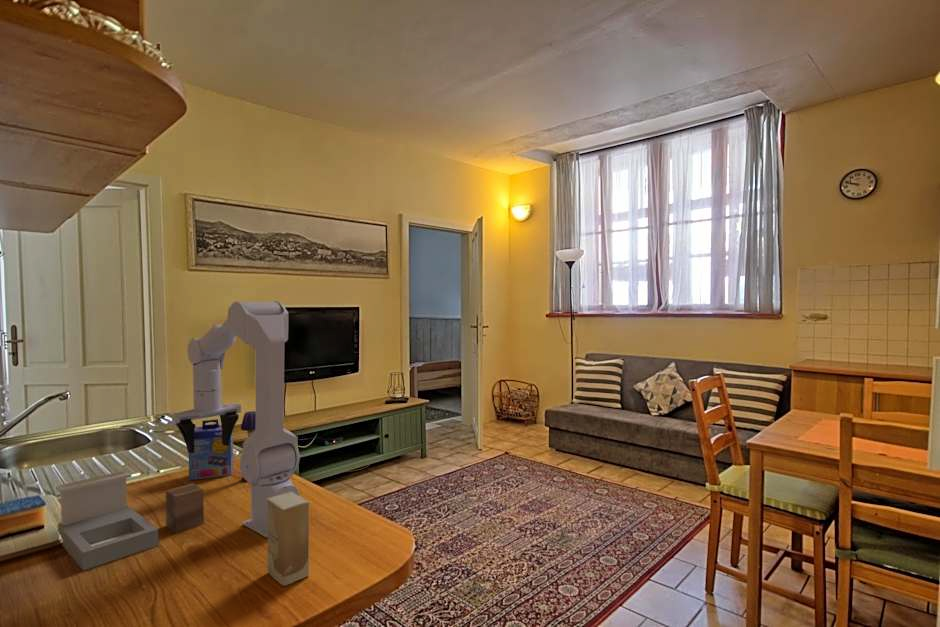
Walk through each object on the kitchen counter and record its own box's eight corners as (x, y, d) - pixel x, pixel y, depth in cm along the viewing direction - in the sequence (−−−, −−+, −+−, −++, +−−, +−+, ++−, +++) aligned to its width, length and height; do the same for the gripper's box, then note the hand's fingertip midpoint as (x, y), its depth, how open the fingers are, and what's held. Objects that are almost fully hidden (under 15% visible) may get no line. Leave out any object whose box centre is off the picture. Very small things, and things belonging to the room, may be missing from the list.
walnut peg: (203, 524, 99) (203, 489, 99) (176, 533, 95) (175, 496, 95) (193, 517, 102) (192, 483, 102) (166, 525, 99) (165, 490, 99)
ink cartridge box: (188, 481, 123) (186, 422, 123) (191, 474, 129) (189, 418, 128) (232, 475, 127) (231, 418, 127) (233, 469, 132) (232, 414, 132)
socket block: (158, 545, 90) (157, 490, 90) (83, 570, 82) (81, 510, 82) (126, 519, 102) (125, 470, 101) (57, 539, 93) (56, 486, 93)
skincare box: (266, 572, 81) (265, 497, 81) (292, 562, 84) (291, 490, 84) (284, 588, 76) (282, 508, 76) (310, 577, 79) (309, 500, 79)
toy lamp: (265, 475, 127) (264, 410, 126) (256, 482, 122) (254, 414, 122) (247, 475, 127) (246, 410, 127) (237, 482, 123) (236, 414, 122)
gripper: (231, 384, 124) (233, 438, 124) (166, 392, 113) (167, 452, 114) (244, 387, 120) (245, 443, 120) (177, 396, 109) (179, 458, 109)
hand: (208, 448), depth 116 cm, fingers open, 7 cm apart
